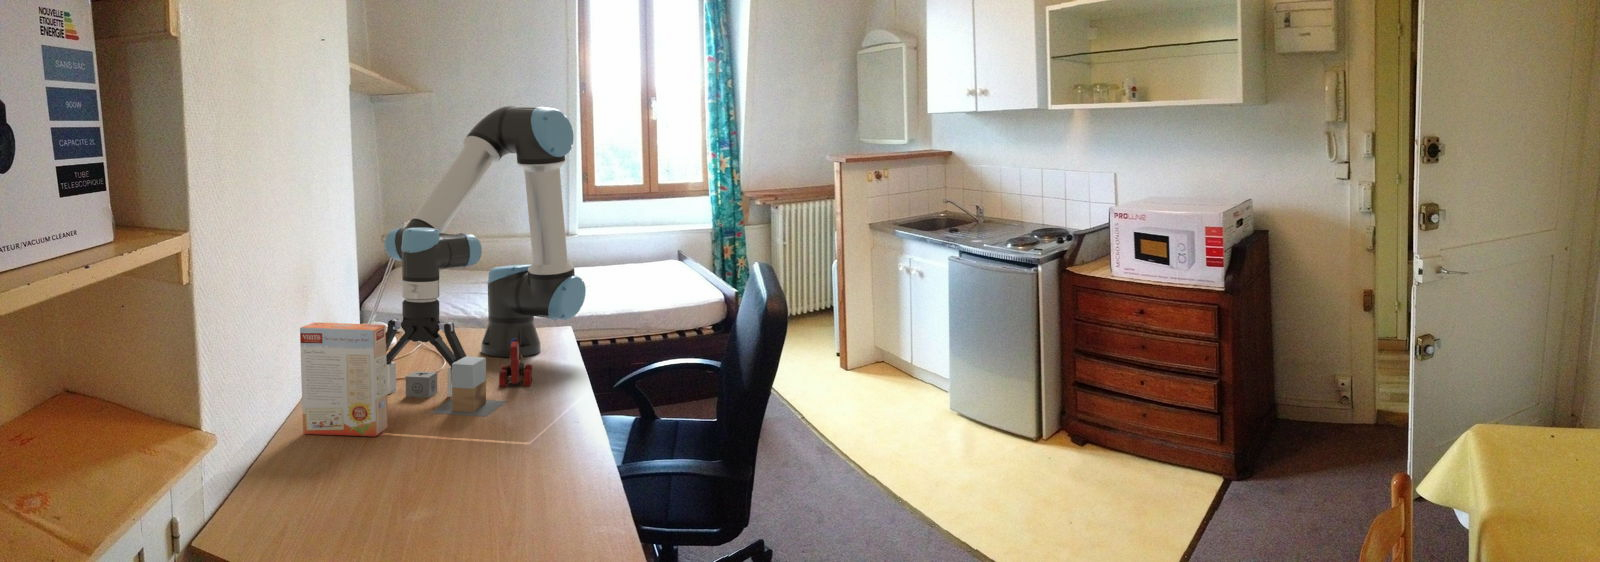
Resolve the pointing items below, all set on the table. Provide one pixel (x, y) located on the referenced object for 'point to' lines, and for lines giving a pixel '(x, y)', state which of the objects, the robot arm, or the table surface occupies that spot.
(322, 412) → the cracker box
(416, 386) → the dice cube
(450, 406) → the mat
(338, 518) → the table surface
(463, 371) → the tower mid
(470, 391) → the tower base
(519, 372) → the toy fire truck
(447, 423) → the table surface
